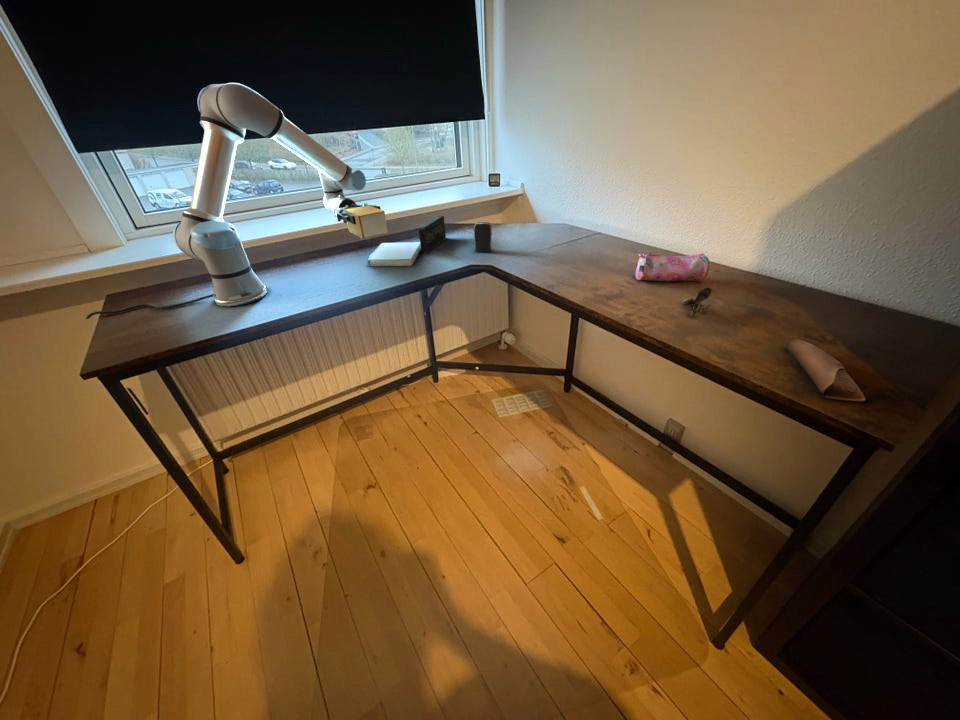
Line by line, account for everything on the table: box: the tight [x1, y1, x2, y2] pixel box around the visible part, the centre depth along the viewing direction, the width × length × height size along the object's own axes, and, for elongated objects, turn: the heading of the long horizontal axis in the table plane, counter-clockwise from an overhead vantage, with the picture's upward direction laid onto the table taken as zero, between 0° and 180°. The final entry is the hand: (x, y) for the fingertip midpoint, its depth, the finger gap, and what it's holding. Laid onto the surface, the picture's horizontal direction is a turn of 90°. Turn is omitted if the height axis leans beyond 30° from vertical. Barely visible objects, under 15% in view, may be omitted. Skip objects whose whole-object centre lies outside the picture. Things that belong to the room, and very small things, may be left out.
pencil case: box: [635, 252, 710, 282], centre depth 123 cm, size 21×9×9 cm, turn 81°
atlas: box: [366, 241, 421, 267], centre depth 153 cm, size 17×20×3 cm
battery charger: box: [473, 221, 493, 253], centre depth 153 cm, size 7×4×11 cm, turn 82°
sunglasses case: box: [785, 338, 867, 402], centre depth 82 cm, size 18×7×7 cm, turn 167°
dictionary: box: [344, 204, 389, 240], centre depth 140 cm, size 13×10×8 cm
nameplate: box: [418, 215, 447, 254], centre depth 161 cm, size 21×2×10 cm, turn 161°
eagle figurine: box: [682, 287, 712, 317], centre depth 106 cm, size 8×7×9 cm
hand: (368, 217), depth 137 cm, fingers closed on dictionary, 10 cm apart
